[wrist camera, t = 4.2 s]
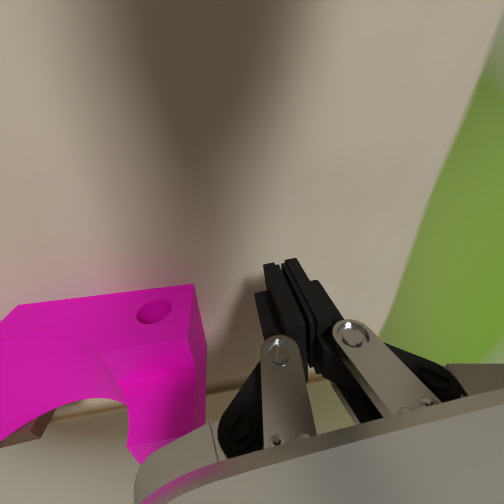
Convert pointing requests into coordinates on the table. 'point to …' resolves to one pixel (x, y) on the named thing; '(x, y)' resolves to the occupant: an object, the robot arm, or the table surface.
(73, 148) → the table surface
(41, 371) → the magenta curved block
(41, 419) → the walnut bay
